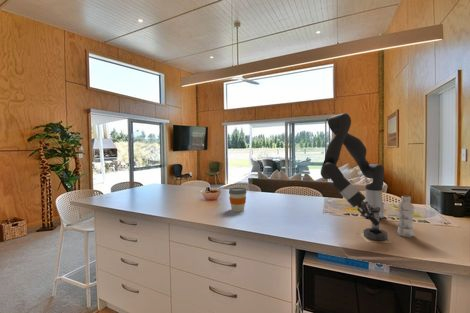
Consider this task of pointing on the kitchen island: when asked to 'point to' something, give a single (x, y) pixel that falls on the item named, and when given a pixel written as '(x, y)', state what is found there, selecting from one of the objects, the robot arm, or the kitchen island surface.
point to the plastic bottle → (405, 217)
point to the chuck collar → (375, 235)
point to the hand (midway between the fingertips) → (379, 222)
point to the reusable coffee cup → (237, 198)
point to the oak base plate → (376, 241)
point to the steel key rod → (376, 215)
